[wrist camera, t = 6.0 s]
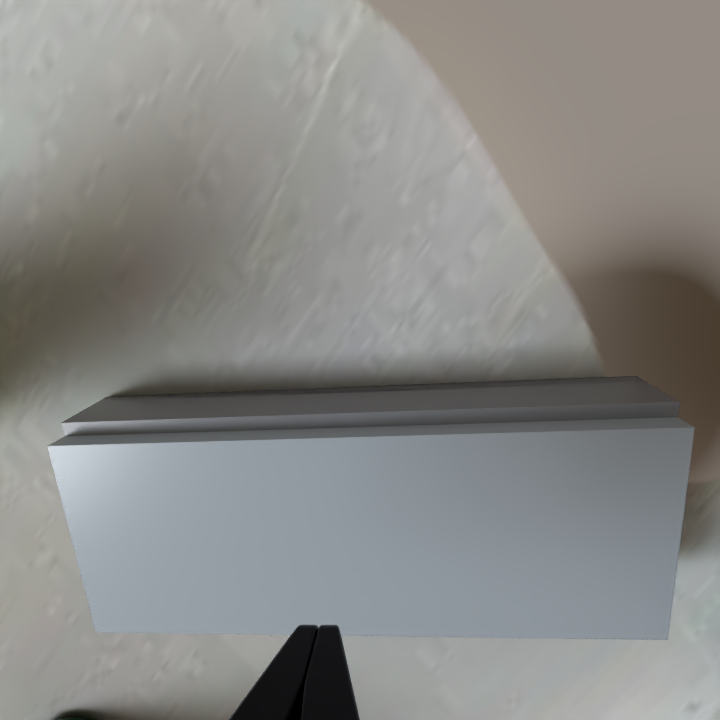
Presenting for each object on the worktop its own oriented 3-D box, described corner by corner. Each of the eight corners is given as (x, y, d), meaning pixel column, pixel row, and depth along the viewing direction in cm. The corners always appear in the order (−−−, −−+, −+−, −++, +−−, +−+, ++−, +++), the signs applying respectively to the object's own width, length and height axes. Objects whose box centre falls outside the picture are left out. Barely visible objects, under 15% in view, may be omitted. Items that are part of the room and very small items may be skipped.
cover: (677, 417, 13) (695, 427, 13) (653, 620, 15) (667, 639, 14) (65, 436, 15) (47, 446, 14) (109, 614, 17) (95, 632, 16)
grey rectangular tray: (636, 376, 16) (679, 401, 13) (615, 563, 18) (650, 614, 15) (106, 396, 17) (60, 422, 15) (147, 564, 20) (113, 610, 17)
